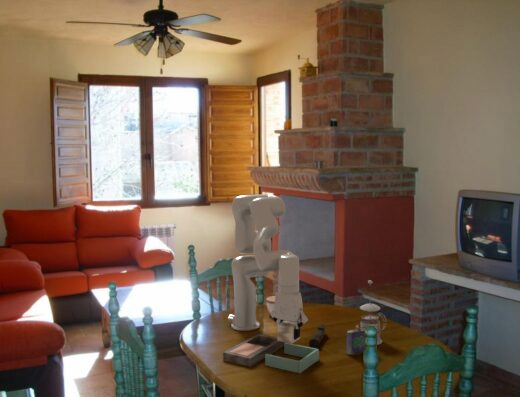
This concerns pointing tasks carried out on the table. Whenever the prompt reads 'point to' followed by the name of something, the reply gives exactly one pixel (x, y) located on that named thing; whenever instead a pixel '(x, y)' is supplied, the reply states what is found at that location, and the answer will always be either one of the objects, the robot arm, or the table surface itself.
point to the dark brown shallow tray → (252, 350)
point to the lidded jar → (270, 303)
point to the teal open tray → (293, 365)
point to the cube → (286, 332)
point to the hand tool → (317, 337)
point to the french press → (371, 317)
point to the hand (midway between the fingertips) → (288, 336)
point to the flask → (355, 341)
